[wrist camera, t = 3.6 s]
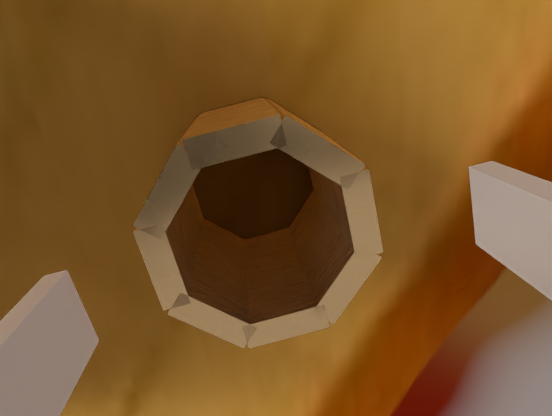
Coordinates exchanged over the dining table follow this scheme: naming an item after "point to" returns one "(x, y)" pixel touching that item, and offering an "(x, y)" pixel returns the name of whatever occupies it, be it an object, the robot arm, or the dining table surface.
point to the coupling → (264, 248)
